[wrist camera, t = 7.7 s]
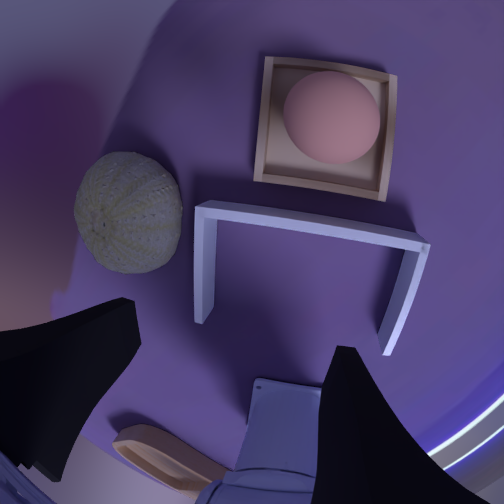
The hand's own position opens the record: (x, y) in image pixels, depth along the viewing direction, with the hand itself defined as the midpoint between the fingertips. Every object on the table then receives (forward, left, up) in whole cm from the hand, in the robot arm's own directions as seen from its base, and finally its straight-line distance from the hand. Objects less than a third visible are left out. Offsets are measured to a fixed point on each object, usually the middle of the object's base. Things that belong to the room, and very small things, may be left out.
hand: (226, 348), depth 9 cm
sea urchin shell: (+2, +11, -11) cm, 15 cm away
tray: (+9, -3, -10) cm, 14 cm away
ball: (+9, -3, -10) cm, 13 cm away
